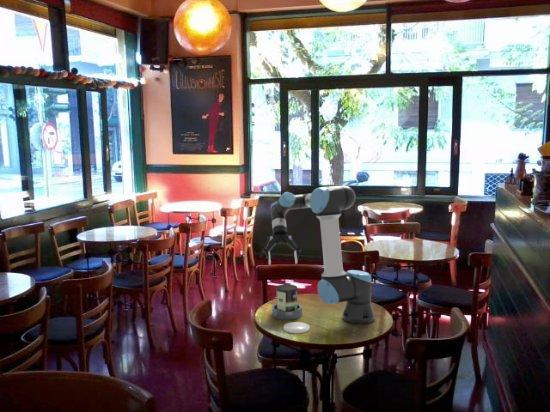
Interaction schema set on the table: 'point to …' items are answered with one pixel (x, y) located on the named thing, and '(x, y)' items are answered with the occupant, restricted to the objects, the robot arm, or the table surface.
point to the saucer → (296, 327)
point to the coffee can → (286, 297)
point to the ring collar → (286, 313)
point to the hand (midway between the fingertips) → (283, 263)
